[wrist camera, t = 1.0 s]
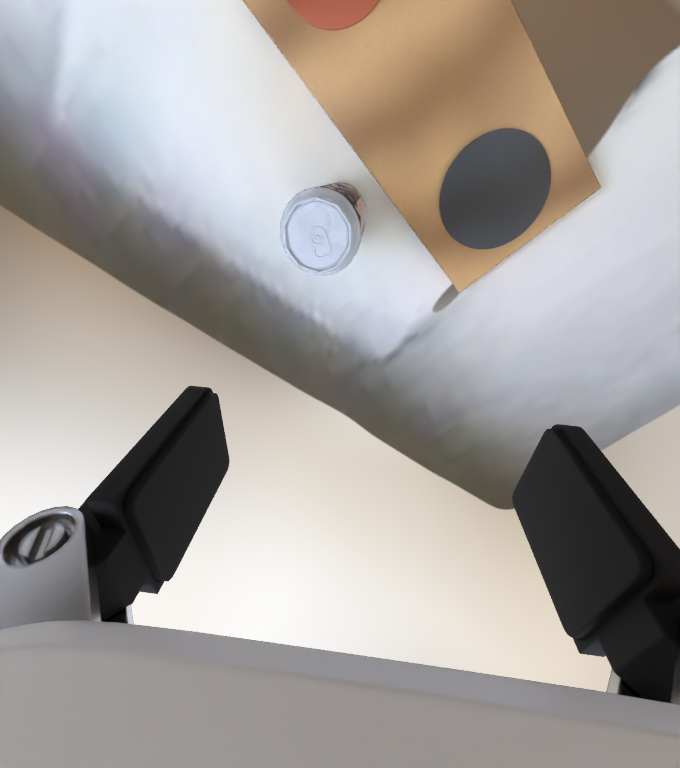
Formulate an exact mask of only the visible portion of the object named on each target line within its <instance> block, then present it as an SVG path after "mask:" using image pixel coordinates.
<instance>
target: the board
mask: <svg viewBox="0 0 680 768" xmlns="http://www.w3.org/2000/svg"><path fill="white" fill-rule="evenodd" d="M243 1H244V3H245V4H246V5H247V7H248V8H249V9H250V11H251V12H252V13H253V15H254V16H255V17H256V19H257V20H258V22H259V23H260V24H261V26H262V27H263V28H264V30H265V31H266V32H267V34H268V35H269V36H270V38H271V39H272V40H273V42H274V43H275V44H276V46H277V47H278V49H279V50H280V51H281V53H282V54H283V55H284V57H285V58H286V59H287V61H288V62H289V63H290V65H291V66H292V67H293V69H294V70H295V71H296V73H297V74H298V75H299V77H300V78H301V80H302V81H303V82H304V84H305V85H306V86H307V88H308V89H309V90H310V92H311V93H312V94H313V96H314V97H315V98H316V100H317V101H318V102H319V104H320V105H321V106H322V108H323V109H324V111H325V112H326V113H327V115H328V116H329V117H330V119H331V120H332V121H333V123H334V124H335V125H336V127H337V128H338V129H339V131H340V132H341V133H342V135H343V136H344V138H345V139H346V140H347V142H348V143H349V144H350V146H351V147H352V148H353V150H354V151H355V152H356V154H357V155H358V156H359V158H360V159H361V160H362V162H363V163H364V164H365V166H366V167H367V169H368V170H369V171H370V173H371V174H372V175H373V177H374V178H375V179H376V181H377V182H378V183H379V185H380V186H381V187H382V189H383V190H384V191H385V193H386V194H387V195H388V197H389V198H390V200H391V201H392V202H393V204H394V205H395V206H396V208H397V209H398V210H399V212H400V213H401V214H402V216H403V217H404V218H405V220H406V221H407V222H408V224H409V225H410V226H411V228H412V229H413V231H414V232H415V233H416V235H417V236H418V237H419V239H420V240H421V241H422V243H423V244H424V245H425V247H426V248H427V249H428V251H429V252H430V253H431V255H432V256H433V258H434V259H435V260H436V262H437V263H438V264H439V266H440V267H441V268H442V270H443V271H444V272H445V274H446V275H447V276H448V278H449V279H450V280H451V282H452V283H453V284H454V286H455V287H456V288H457V290H458V291H459V292H461V291H462V290H464V289H465V288H466V287H468V286H469V285H470V284H472V283H473V282H475V281H476V280H477V279H479V278H480V277H481V276H483V275H484V274H485V273H487V272H488V271H489V270H491V269H492V268H493V267H495V266H496V265H498V264H499V263H500V262H502V261H503V260H504V259H506V258H507V257H508V256H510V255H511V254H512V253H514V252H515V251H516V250H518V249H519V248H521V247H522V246H523V245H525V244H526V243H527V242H529V241H530V240H531V239H533V238H534V237H535V236H537V235H538V234H539V233H541V232H542V231H544V230H545V229H546V228H548V227H549V226H550V225H552V224H553V223H554V222H556V221H557V220H558V219H560V218H561V217H562V216H564V215H565V214H567V213H568V212H569V211H571V210H572V209H573V208H575V207H576V206H577V205H579V204H580V203H581V202H583V201H584V200H586V199H587V198H588V197H590V196H591V195H592V194H594V193H595V192H596V191H598V190H599V189H600V188H601V187H600V184H599V182H598V180H597V178H596V176H595V174H594V172H593V170H592V168H591V166H590V164H589V161H588V159H587V157H586V155H585V153H584V151H583V149H582V147H581V145H580V143H579V141H578V138H577V136H576V134H575V132H574V130H573V128H572V126H571V124H570V122H569V120H568V117H567V115H566V113H565V111H564V109H563V107H562V105H561V103H560V101H559V99H558V96H557V94H556V92H555V90H554V88H553V86H552V84H551V82H550V80H549V78H548V76H547V74H546V71H545V69H544V67H543V65H542V63H541V61H540V59H539V57H538V55H537V52H536V50H535V48H534V46H533V44H532V42H531V40H530V38H529V36H528V34H527V32H526V29H525V28H524V25H523V23H522V21H521V19H520V17H519V15H518V13H517V11H516V8H515V6H514V4H513V2H512V0H243Z"/></svg>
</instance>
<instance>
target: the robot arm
mask: <svg viewBox="0 0 680 768" xmlns="http://www.w3.org/2000/svg"><path fill="white" fill-rule="evenodd" d="M228 467H229V455H228V449H227V443H226V438H225V432H224V427H223V421H222V416H221V410H220V404H219V398H218V395H217V394H215V393H213V392H212V390H211V389H210V388H206V387H196V386H189V387H188V388H186V389H185V390H184V392H183V393H182V394H181V395H180V396H179V397H178V398H177V399H176V400H175V402H174V403H173V404H172V405H171V406H170V407H169V408H168V409H167V411H166V412H165V413H164V414H163V415H162V416H161V417H160V418H159V419H158V421H156V423H155V424H154V425H153V426H152V427H151V428H150V429H149V430H148V431H147V433H146V434H145V435H144V436H143V437H142V438H141V439H140V440H139V442H138V443H137V444H136V445H135V446H134V447H133V448H132V449H131V450H130V451H129V453H128V454H127V455H126V456H125V457H124V458H123V459H122V460H121V461H120V463H119V464H118V465H117V466H116V467H115V468H114V469H113V470H112V472H110V474H109V475H108V476H107V477H106V478H105V479H104V480H103V481H102V482H101V484H100V485H99V486H98V487H97V488H96V489H95V490H94V491H93V492H92V494H91V495H90V496H89V497H88V498H87V499H86V501H85V502H84V503H83V504H82V506H81V507H80V508H79V509H76V508H72V507H68V506H64V507H54V508H50V509H47V510H43V511H40V512H38V513H36V514H34V515H32V516H29V517H28V518H26V519H24V520H23V521H21V522H20V523H18V524H16V525H15V526H14V527H13V528H12V529H11V530H9V531H8V532H7V533H6V534H5V535H4V536H3V537H2V539H1V540H0V768H680V549H679V548H678V547H677V545H676V544H675V543H674V542H673V541H672V539H671V538H670V537H669V536H668V534H667V533H666V532H665V530H664V529H663V528H662V527H661V525H660V524H659V523H658V522H657V520H656V519H655V518H654V517H653V516H652V514H651V513H650V512H649V510H648V509H647V508H646V507H645V505H644V504H643V503H642V502H641V501H640V499H639V498H638V497H637V495H636V494H635V493H634V492H633V490H632V489H631V488H630V487H629V485H628V484H627V483H626V482H625V481H624V479H623V478H622V477H621V476H620V474H619V473H618V472H617V471H616V469H615V468H614V467H613V466H612V464H611V463H610V462H609V461H608V459H607V458H606V457H605V456H604V454H603V453H602V452H601V451H600V449H599V448H598V447H597V446H596V444H595V443H594V442H593V441H592V439H591V438H590V437H589V436H588V434H587V433H586V432H585V431H584V430H583V429H582V428H581V427H578V426H568V425H559V424H557V425H554V426H553V427H552V428H551V429H547V430H546V431H545V432H544V434H543V436H542V438H541V440H540V442H539V444H538V446H537V448H536V449H535V451H534V453H533V455H532V457H531V459H530V461H529V463H528V465H527V467H526V469H525V471H524V473H523V475H522V476H521V478H520V480H519V482H518V484H517V486H516V488H515V490H514V492H513V496H512V500H513V505H514V508H515V510H516V512H517V515H518V517H519V520H520V522H521V525H522V527H523V530H524V532H525V535H526V537H527V540H528V542H529V544H530V547H531V549H532V552H533V554H534V557H535V559H536V562H537V564H538V567H539V569H540V571H541V574H542V576H543V579H544V581H545V584H546V586H547V588H548V591H549V594H550V596H551V599H552V601H553V603H554V606H555V608H556V611H557V613H558V616H559V618H560V621H561V623H562V625H563V627H564V630H565V631H566V633H567V634H568V635H569V636H570V637H573V639H574V642H575V644H576V646H577V649H578V651H579V653H580V654H587V655H595V656H602V657H604V656H605V655H606V656H607V658H608V660H609V663H610V665H611V667H612V671H611V675H610V679H609V683H608V687H607V691H606V692H600V691H595V690H588V689H582V688H575V687H568V686H562V685H555V684H549V683H541V682H536V681H529V680H522V679H516V678H509V677H502V676H496V675H489V674H483V673H476V672H470V671H463V670H456V669H449V668H442V667H436V666H429V665H422V664H415V663H408V662H401V661H395V660H388V659H381V658H374V657H367V656H360V655H354V654H347V653H340V652H333V651H326V650H319V649H312V648H305V647H298V646H290V645H283V644H277V643H270V642H262V641H256V640H249V639H242V638H235V637H227V636H220V635H213V634H206V633H199V632H192V631H183V630H175V629H167V628H159V627H150V626H142V625H134V623H133V616H132V609H131V604H132V603H133V601H134V600H135V598H136V596H137V594H138V593H139V591H140V592H147V593H155V594H158V592H159V590H160V588H161V586H162V585H163V583H164V581H169V580H170V579H171V578H172V577H173V575H174V573H175V571H176V569H177V568H178V566H179V564H180V562H181V560H182V558H183V556H184V554H185V552H186V550H187V548H188V546H189V544H190V542H191V540H192V538H193V536H194V534H195V532H196V531H197V529H198V526H199V524H200V523H201V521H202V519H203V517H204V515H205V513H206V511H207V509H208V507H209V505H210V503H211V501H212V499H213V497H214V495H215V493H216V492H217V489H218V488H219V486H220V484H221V482H222V480H223V478H224V476H225V474H226V472H227V470H228Z"/></svg>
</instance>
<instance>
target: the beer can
mask: <svg viewBox="0 0 680 768" xmlns="http://www.w3.org/2000/svg"><path fill="white" fill-rule="evenodd" d="M365 222H366V206H365V203H364V200H363V199H362V197H361V195H360V194H359V193H358V191H357V190H356V189H355V188H353V187H352V186H349V185H347V184H345V183H333V184H329V185H325V186H320V187H314V188H310V189H306V190H304V191H302V192H300V193H298V194H296V195H295V196H294V197H293V198H292V199H291V200H290V201H289V203H288V204H287V206H286V208H285V210H284V212H283V214H282V219H281V223H280V236H281V240H282V244H283V247H284V249H285V251H286V253H287V255H288V257H289V258H290V259H291V261H292V262H293V263H294V264H295V265H296V266H297V267H299V268H300V269H302V270H303V271H305V272H308V273H310V274H313V275H320V276H326V275H331V274H334V273H337V272H339V271H341V270H342V269H344V268H345V267H346V266H347V265H349V263H350V262H351V261H352V259H353V258H354V256H355V255H356V253H357V251H358V248H359V244H360V241H361V237H362V234H363V230H364V226H365Z"/></svg>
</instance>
